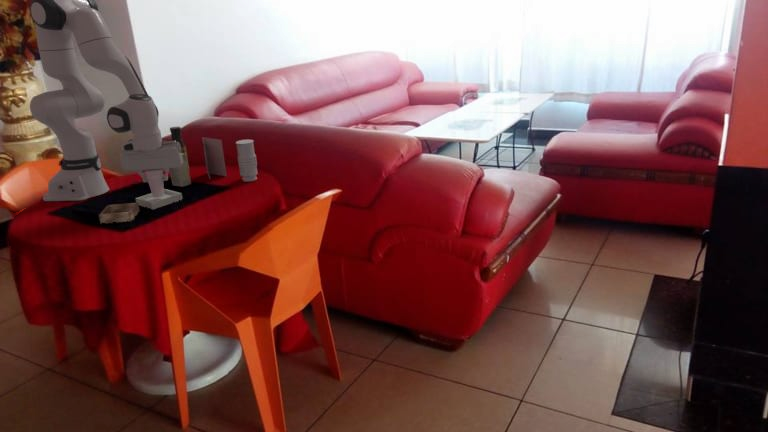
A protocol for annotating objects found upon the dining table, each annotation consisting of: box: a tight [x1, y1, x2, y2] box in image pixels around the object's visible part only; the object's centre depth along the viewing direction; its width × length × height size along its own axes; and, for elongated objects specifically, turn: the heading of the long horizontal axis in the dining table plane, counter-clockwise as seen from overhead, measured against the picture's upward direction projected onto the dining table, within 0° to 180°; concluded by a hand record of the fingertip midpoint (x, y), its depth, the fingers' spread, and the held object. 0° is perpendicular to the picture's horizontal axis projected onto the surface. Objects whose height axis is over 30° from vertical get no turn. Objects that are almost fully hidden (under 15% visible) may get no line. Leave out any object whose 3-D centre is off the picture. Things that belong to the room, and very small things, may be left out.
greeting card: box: [201, 136, 227, 179], centre depth 238 cm, size 11×7×15 cm, turn 21°
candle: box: [235, 139, 259, 182], centre depth 231 cm, size 7×7×15 cm
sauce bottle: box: [169, 126, 190, 171], centre depth 239 cm, size 6×6×20 cm
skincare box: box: [169, 153, 192, 188], centre depth 229 cm, size 6×4×12 cm
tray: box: [135, 188, 184, 210], centre depth 212 cm, size 12×10×2 cm
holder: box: [98, 202, 140, 225], centre depth 198 cm, size 10×10×3 cm
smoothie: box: [143, 169, 165, 197], centre depth 209 cm, size 6×6×14 cm
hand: (155, 181), depth 209 cm, fingers closed on smoothie, 5 cm apart
